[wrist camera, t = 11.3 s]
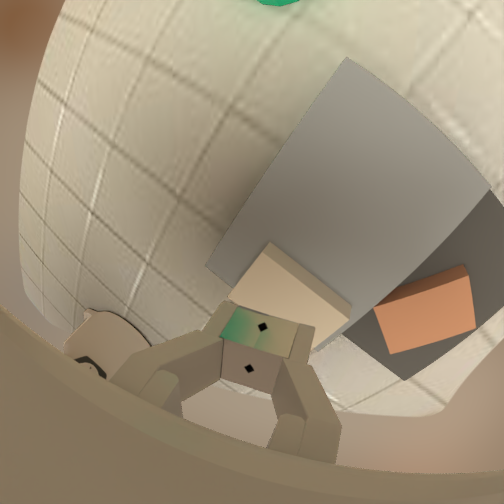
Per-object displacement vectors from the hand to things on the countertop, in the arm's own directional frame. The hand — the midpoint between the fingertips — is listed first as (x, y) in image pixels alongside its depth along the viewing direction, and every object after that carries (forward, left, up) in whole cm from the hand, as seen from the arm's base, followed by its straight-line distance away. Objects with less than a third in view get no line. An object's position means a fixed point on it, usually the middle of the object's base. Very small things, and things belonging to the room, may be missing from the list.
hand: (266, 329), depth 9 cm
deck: (-1, -2, -17) cm, 17 cm away
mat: (0, -15, -17) cm, 23 cm away
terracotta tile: (-2, -14, -17) cm, 22 cm away
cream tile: (-9, -3, -15) cm, 18 cm away
